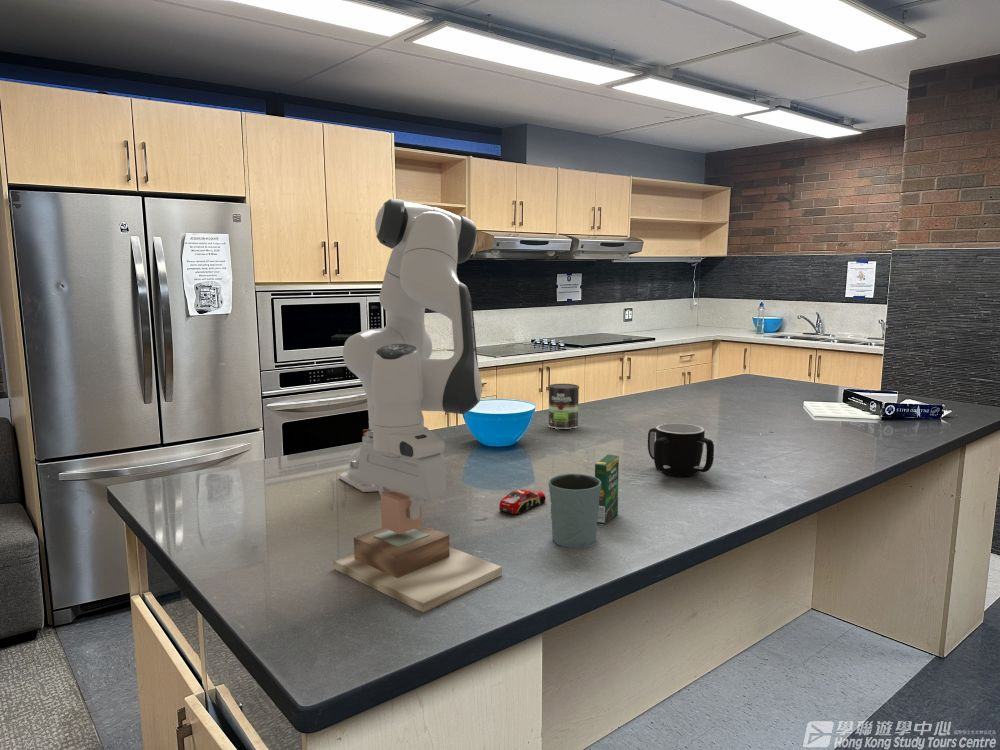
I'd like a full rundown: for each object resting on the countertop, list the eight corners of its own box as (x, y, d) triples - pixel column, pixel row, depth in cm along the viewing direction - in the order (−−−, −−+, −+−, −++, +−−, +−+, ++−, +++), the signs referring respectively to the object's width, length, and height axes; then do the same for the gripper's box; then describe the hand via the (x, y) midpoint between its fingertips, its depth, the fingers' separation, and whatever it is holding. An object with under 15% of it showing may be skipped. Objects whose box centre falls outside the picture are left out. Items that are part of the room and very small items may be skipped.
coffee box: (606, 526, 142) (607, 464, 140) (592, 523, 143) (593, 462, 141) (618, 514, 149) (620, 455, 147) (606, 512, 150) (607, 453, 148)
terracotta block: (381, 527, 122) (380, 494, 122) (403, 519, 126) (402, 487, 125) (399, 534, 119) (398, 500, 118) (421, 526, 123) (420, 493, 122)
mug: (713, 483, 170) (715, 436, 168) (647, 480, 173) (648, 433, 171) (707, 465, 186) (709, 422, 184) (647, 462, 189) (648, 420, 187)
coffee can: (575, 430, 228) (576, 388, 226) (545, 429, 231) (545, 387, 229) (581, 424, 238) (581, 384, 236) (552, 422, 241) (552, 382, 239)
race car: (531, 497, 161) (531, 481, 161) (549, 502, 158) (549, 485, 157) (494, 512, 151) (494, 495, 151) (514, 517, 148) (514, 499, 147)
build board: (334, 568, 122) (332, 538, 122) (412, 539, 136) (411, 512, 135) (423, 612, 106) (422, 577, 106) (502, 574, 119) (501, 543, 119)
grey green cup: (595, 530, 140) (596, 473, 138) (604, 550, 130) (605, 488, 128) (545, 531, 140) (546, 473, 138) (551, 551, 130) (551, 489, 128)
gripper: (348, 432, 125) (351, 505, 127) (423, 451, 111) (425, 532, 113) (376, 426, 129) (379, 497, 132) (451, 443, 116) (453, 522, 118)
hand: (401, 514), depth 122 cm, fingers closed on terracotta block, 5 cm apart
